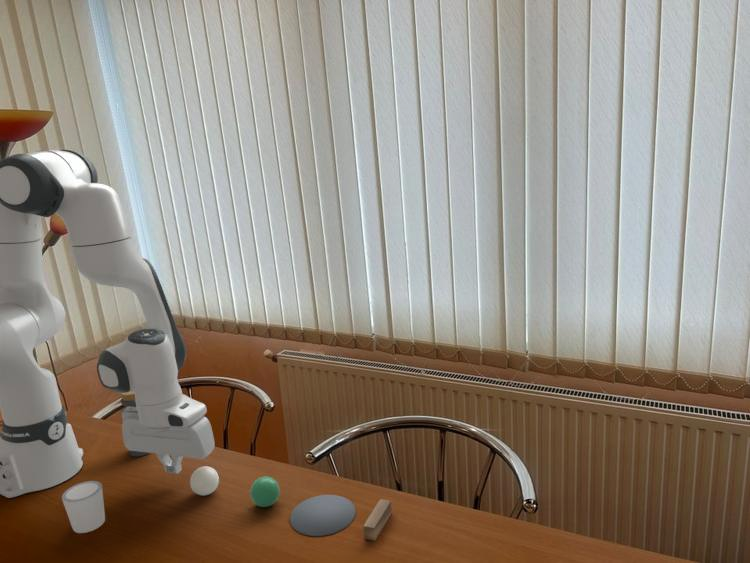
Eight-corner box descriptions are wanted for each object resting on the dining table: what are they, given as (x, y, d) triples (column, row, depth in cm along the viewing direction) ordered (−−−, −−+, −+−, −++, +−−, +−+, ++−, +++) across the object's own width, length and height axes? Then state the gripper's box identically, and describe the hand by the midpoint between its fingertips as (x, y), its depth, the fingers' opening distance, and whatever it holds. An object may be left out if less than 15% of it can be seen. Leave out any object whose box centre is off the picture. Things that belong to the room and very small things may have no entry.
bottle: (145, 457, 137) (133, 396, 133) (123, 455, 139) (111, 395, 135) (161, 444, 142) (150, 385, 139) (140, 442, 144) (129, 384, 141)
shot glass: (93, 536, 111) (86, 502, 109) (60, 534, 112) (53, 500, 110) (116, 513, 117) (109, 481, 115) (85, 511, 119) (78, 479, 117)
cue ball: (186, 498, 120) (182, 473, 119) (203, 483, 125) (200, 459, 124) (209, 503, 118) (205, 477, 117) (226, 487, 123) (222, 463, 121)
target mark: (277, 529, 108) (277, 528, 108) (309, 491, 119) (309, 490, 119) (338, 541, 104) (338, 540, 104) (365, 501, 115) (365, 500, 114)
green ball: (246, 510, 115) (242, 484, 113) (262, 494, 120) (258, 469, 118) (271, 515, 113) (267, 489, 111) (286, 498, 117) (283, 473, 116)
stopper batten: (364, 538, 104) (363, 525, 103) (381, 511, 111) (380, 499, 111) (375, 540, 103) (374, 528, 103) (391, 512, 110) (390, 500, 110)
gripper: (109, 412, 122) (122, 474, 126) (193, 420, 115) (205, 485, 118) (131, 399, 128) (143, 458, 131) (212, 405, 121) (223, 468, 124)
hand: (173, 471), depth 125 cm, fingers closed
